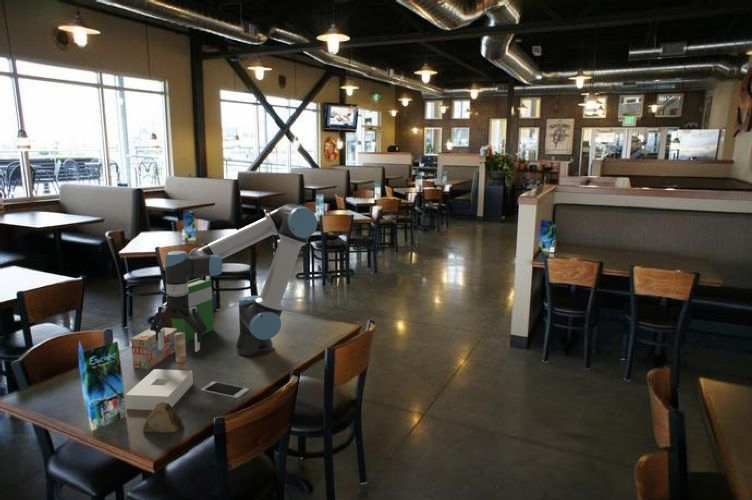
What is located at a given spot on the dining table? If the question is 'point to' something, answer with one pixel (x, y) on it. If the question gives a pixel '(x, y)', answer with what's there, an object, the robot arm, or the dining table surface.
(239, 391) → the smartphone
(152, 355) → the stack of blocks
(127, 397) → the hole board
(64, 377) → the dining table surface
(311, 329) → the dining table surface
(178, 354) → the beech peg
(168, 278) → the robot arm
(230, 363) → the dining table surface
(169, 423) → the rock
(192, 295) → the hardback book
